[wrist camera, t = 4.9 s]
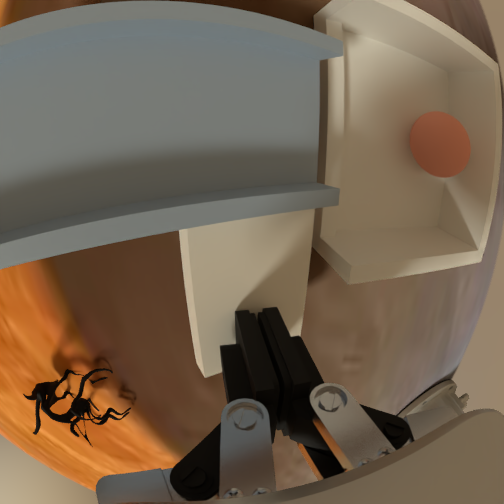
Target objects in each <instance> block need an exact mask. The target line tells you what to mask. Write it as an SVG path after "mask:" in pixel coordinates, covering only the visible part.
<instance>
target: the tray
mask: <svg viewBox="0 0 504 504" xmlns="http://www.w3.org/2000/svg"><path fill="white" fill-rule="evenodd" d="M313 18H314V30H315V31H318V32H321V33H323V34H326V35H329V36H331V37H333V38H336V39H338V40H341V41H343V56H340V57H335V58H329V59H324V60H320V113H319V147H318V169H317V183H321V184H324V185H328V186H332V187H336V188H339V189H340V194H339V205H338V206H330V207H322V208H315V214H314V225H313V237H312V247H313V248H314V249H315V250H316V251H317V252H318V253H319V254H320V255H321V256H322V258H323V259H324V260H325V261H326V262H327V263H328V264H329V265H330V266H331V267H332V268H333V269H334V270H335V271H336V272H337V273H338V274H339V275H340V277H341V278H342V279H343V280H344V281H345V282H346V283H347V284H348V285H349V284H357V283H364V282H370V281H377V280H384V279H390V278H396V277H402V276H408V275H414V274H420V273H426V272H431V271H437V270H442V269H448V268H453V267H458V266H463V265H468V264H473V263H478V262H481V260H482V256H483V253H484V249H485V246H486V242H487V238H488V234H489V230H490V225H491V221H492V216H493V211H494V206H495V200H496V194H497V187H498V180H499V171H500V161H501V147H502V99H501V85H500V75H499V67H498V64H497V63H496V62H495V61H494V60H493V59H491V58H490V57H489V56H488V55H487V54H486V53H484V52H483V51H482V50H481V49H479V48H478V47H477V46H476V45H474V44H473V43H472V42H470V41H469V40H468V39H466V38H465V37H463V36H462V35H461V34H459V33H458V32H456V31H455V30H453V29H452V28H450V27H449V26H447V25H446V24H444V23H443V22H441V21H440V20H438V19H436V18H435V17H433V16H431V15H430V14H428V13H426V12H424V11H423V10H421V9H419V8H417V7H415V6H413V5H412V4H410V3H408V2H406V1H404V0H332V1H331V2H330V3H328V4H327V5H326V6H325V7H323V8H322V9H321V10H320V11H319V12H317V13H316V14H315V15H314V16H313ZM433 111H440V112H444V113H447V114H449V115H451V116H453V117H454V118H456V119H457V120H458V121H459V122H460V123H461V124H462V125H463V127H464V128H465V130H466V132H467V134H468V136H469V140H470V146H471V153H470V158H469V161H468V163H467V165H466V167H465V168H464V169H463V170H462V171H461V172H460V173H459V174H457V175H455V176H452V177H447V178H441V177H436V176H433V175H431V174H429V173H428V172H426V171H425V170H424V169H422V168H421V167H420V166H419V164H418V163H417V162H416V160H415V158H414V156H413V154H412V151H411V148H410V132H411V129H412V126H413V124H414V123H415V121H416V120H417V119H418V118H419V117H420V116H422V115H423V114H425V113H428V112H433Z"/></svg>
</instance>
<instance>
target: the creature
mask: <svg viewBox="0 0 504 504" xmlns="http://www.w3.org/2000/svg"><path fill="white" fill-rule="evenodd" d="M103 370H106V371H110V372H111V373H113V372H112V371H111V370H109V369H105V368H103V369H95V370H93V371H90V372H89V373H88V374H86V375H85V376H84V375H82V376H84V377H82V380H81V383H80V388H79V393H78V395H77V396H76V398H74V397H73V396H72V394H71V393H70V392H68V391H65V392H64V394H63V396H62V397H57V396H56V395H55V391H56V389H57V387H58V386H59V384H60V383H62V382H63V381H64V380H66V378H67V376H68V374H69V373H72V374H74V375H81V374H75V373H74V372H73V371H71V370H68V369H67V370H66V371H65V374H64V376H63V378H62V379H61V380H60V381H59V382H58V380H56V381H54V382H44V383H38V384H36V387H35V388H34V390H33V391H32V395H31V396H26V395H24V394H23V395H24V396H25V397H26V398H27V399H29V400H36V429H35V432H33V434H35V435H36V434H37V433H38V431H39V429H40V426H41V422H40V415H39V409H40V403H41V409H42V410H43V411H44V412H45V413H46V414H47V415H48V416H49V417H50V418H51V419H53V420H55V421H58V422H62V423H71V425H70V431H71V432H72V433H73V434H74V435H75V436H77V437H79V435H78V434H77V432H76V431H75V430H74V425H76V426H77V424H76V423H77V422H79V421H80V420H91V421H92V422H93V423H95V422H94V421H93V419H91V418H90V413H91V409H90V403H91V404H92V402H91V400H90V398H89V399H88V400H86V399H84V398H81V396H82V393H83V389H84V384H85V381H86V380H87V379H88V378H89V377H90V376H91V375H92V374H93V373H95V372H98V371H103ZM106 378H108V377H105V378H101V379H99V380H103V379H106ZM89 380H90V379H89ZM99 380H97V381H99ZM90 381H91V380H90ZM97 381H91V383H92V384H94V383H95V382H97ZM67 394H70V395H71V396H72V397H73V398H74V400H73V402H72V404H71V408H70V409H69V410H68V412H67V413H65V414H62V415H58V414H55V413H52V411H51V410H50V407H51V406H52V405H53V404H55V403H56V402H57V401H58V400H61V399H64V398H66V396H67ZM46 395H48V396H47V399H46ZM88 401H89V402H90V403H89V402H88ZM92 405H93V404H92ZM93 407H94V408H95V409H97V408H96V407H95V406H94V405H93ZM130 409H131V408H129V409H127V410H126V411H125V412H124V413H126V412H127V411H128V410H130ZM97 410H98V409H97ZM98 411H99V410H98ZM86 412H87V415H88V417H89V418H90V419H85V418H84V413H86ZM89 412H90V413H89ZM110 412H113V413H115V414H116V415H123V414H124V413H122V414H120V413H118V412H117V411H115V410H114V409H113V408H108V410H107V412H106V413H105V414H104V415H103V416H102V417H101V418H100V416H101V415H100V416H99V417H95V416H94V415H93V414H92V413H91V415H92V416H93V417H94V419H97V420H102V421H100V422H99V423H95V424H97V425H103V424H104V423H105V422H107V420H108V418H109V417H110V418H112V419H114V420H121V419H122V418H124V417H125V416H126V415H127V414H129V412H127V413H126V414H125V415H124V416H123V417H122V418H120V419H118V418H116V417H115V416H113V415H111V414H110ZM81 415H82V416H83V417H81ZM74 416H77V418H76V419H74V420H73V421H70V420H71V419H72V418H73V417H74ZM84 426H85V424H84ZM77 427H78V426H77ZM78 429H79V427H78ZM79 431H80V429H79ZM80 432H81V431H80ZM81 434H82V432H81ZM82 435H83V434H82ZM83 436H84V435H83ZM84 437H85V439H86V440H87V441H88V442H89V440H88V438H87V435H86V430H85V436H84ZM89 443H90V442H89ZM90 445H91V443H90ZM91 446H92V445H91Z"/></svg>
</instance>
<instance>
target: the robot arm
mask: <svg viewBox="0 0 504 504" xmlns="http://www.w3.org/2000/svg"><path fill="white" fill-rule="evenodd" d="M235 334H236V344H229V345H220V356H221V366H222V373H223V380H224V386H225V392H226V398H227V403H228V405H226V406H225V408H224V409H223V411H222V415H221V423H220V424H219V425H218V426H217V427H216V428H215V429H214V430H213V431H212V432H211V433H210V434H209V435H208V436H207V437H205V438H204V439H203V440H202V441H201V442H200V443H199V444H198V445H197V446H196V447H195V448H194V449H193V450H192V451H191V452H190V453H188V454H187V455H186V456H185V457H184V458H183V459H182V460H181V461H180V462H178V463H177V464H176V465H175V466H174V468H169V469H164V470H161V468H159V469H153V470H147V471H141V472H134V473H126V474H116V475H108V476H104V477H102V478H101V479H100V480H99V481H98V483H97V485H96V494H97V498H98V503H99V504H504V415H502V414H501V413H500V412H499V411H497V410H494V409H478V410H473V411H470V412H467V413H464V412H463V409H464V408H466V406H467V402H466V401H467V400H468V399H469V395H468V394H464V395H462V396H461V397H459V398H458V397H457V395H456V394H455V391H456V387H457V386H456V384H455V383H454V382H453V381H452V380H447V381H444V382H442V383H440V384H438V385H436V386H435V387H433V388H431V389H430V390H428V391H427V392H426V393H424V394H423V395H421V396H420V397H419V398H418V399H416V400H415V401H414V402H413V403H411V404H410V405H409V406H408V407H407V408H405V409H404V410H403V411H402V412H401V413H400V414H399V415H398V416H395V415H392V414H389V413H385V412H382V411H379V410H376V409H373V408H370V407H367V406H364V405H361V404H358V402H357V401H356V400H355V398H354V397H353V396H352V395H351V393H350V392H349V391H348V390H347V389H346V388H345V387H343V386H341V385H339V384H335V383H324V381H323V379H322V377H321V375H320V373H319V371H318V369H317V367H316V365H315V363H314V362H313V360H312V358H311V356H310V354H309V352H308V350H307V348H306V346H305V344H304V342H303V340H302V338H301V337H300V336H299V335H298V336H292V337H291V336H290V333H289V331H288V329H287V327H286V325H285V323H284V321H283V318H282V316H281V314H280V312H279V310H278V308H277V307H269V308H263V309H262V312H258V317H257V318H256V315H255V313H250V311H249V310H241V311H235ZM276 429H277V430H282V433H283V436H287V435H289V436H290V439H291V440H294V441H296V442H297V444H298V447H299V449H300V451H301V452H302V454H303V456H304V457H305V459H306V461H307V463H308V464H309V466H310V468H311V469H312V471H313V473H314V474H315V476H316V478H317V479H318V481H316V482H313V483H309V484H305V485H302V486H298V487H294V488H289V489H285V490H280V491H276V481H275V471H274V461H273V451H272V444H273V442H274V437H275V431H276Z"/></svg>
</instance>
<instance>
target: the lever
mask: <svg viewBox="0 0 504 504" xmlns="http://www.w3.org/2000/svg"><path fill="white" fill-rule="evenodd" d="M340 56H343V41H341V40H338V39H336V38H333V37H331V36H329V35H326V34H323V33H321V32H318V31H315V30H313V29H310V28H307V27H304V26H301V25H298V24H295V23H292V22H288V21H285V20H282V19H278V18H274V17H271V16H267V15H263V14H259V13H254V12H250V11H245V10H240V9H235V8H229V7H223V6H217V5H209V4H201V3H191V2H178V1H122V2H109V3H99V4H91V5H85V6H78V7H73V8H67V9H62V10H58V11H53V12H49V13H45V14H41V15H38V16H34V17H31V18H27V19H24V20H21V21H18V22H15V23H12V24H9V25H7V26H4V27H1V28H0V269H3V268H7V267H11V266H14V265H18V264H22V263H26V262H30V261H35V260H39V259H43V258H47V257H51V256H56V255H60V254H64V253H69V252H73V251H78V250H82V249H87V248H91V247H96V246H101V245H105V244H110V243H115V242H120V241H125V240H130V239H135V238H140V237H145V236H150V235H155V234H160V233H166V232H171V231H177V230H179V235H180V246H181V256H182V266H183V274H184V283H185V291H186V298H187V306H188V313H189V320H190V326H191V333H192V339H193V345H194V351H195V357H196V363H197V365H198V366H199V368H200V370H201V372H202V373H203V375H204V377H205V378H206V377H209V376H212V375H215V374H217V373H220V372H222V366H221V356H220V345H229V344H236V334H235V311H241V310H249V311H250V313H255V315H256V318H257V317H258V312H262V309H263V308H269V307H277V308H278V310H279V312H280V314H281V316H282V318H283V321H284V323H285V325H286V327H287V329H288V331H289V333H290V336H291V337H292V336H298V335H299V336H300V335H301V328H302V321H303V314H304V307H305V299H306V292H307V283H308V275H309V266H310V257H311V247H312V237H313V225H314V214H315V208H322V207H330V206H338V205H339V194H340V189H339V188H336V187H332V186H328V185H324V184H321V183H317V169H318V147H319V113H320V60H324V59H329V58H335V57H340Z"/></svg>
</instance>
